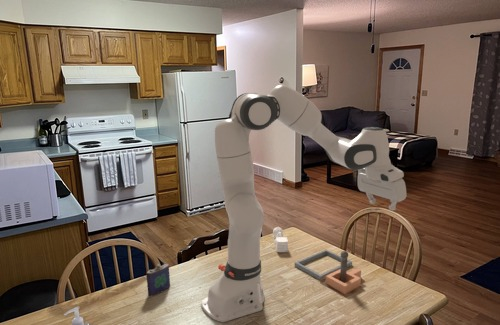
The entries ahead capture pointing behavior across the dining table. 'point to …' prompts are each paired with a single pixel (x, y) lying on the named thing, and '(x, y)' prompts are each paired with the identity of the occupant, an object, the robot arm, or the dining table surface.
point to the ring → (351, 277)
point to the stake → (343, 276)
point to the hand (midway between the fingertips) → (382, 206)
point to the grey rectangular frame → (317, 255)
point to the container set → (280, 240)
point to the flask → (158, 279)
